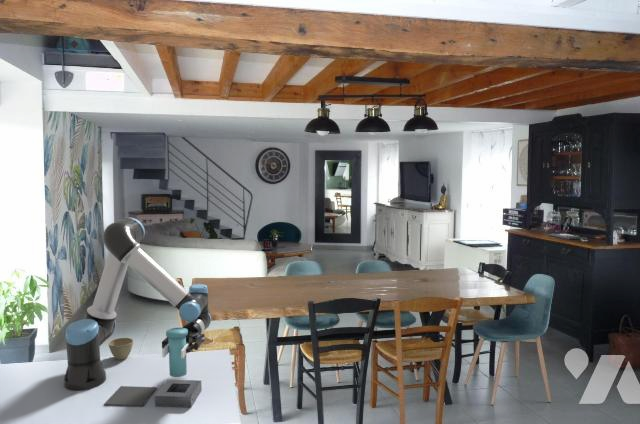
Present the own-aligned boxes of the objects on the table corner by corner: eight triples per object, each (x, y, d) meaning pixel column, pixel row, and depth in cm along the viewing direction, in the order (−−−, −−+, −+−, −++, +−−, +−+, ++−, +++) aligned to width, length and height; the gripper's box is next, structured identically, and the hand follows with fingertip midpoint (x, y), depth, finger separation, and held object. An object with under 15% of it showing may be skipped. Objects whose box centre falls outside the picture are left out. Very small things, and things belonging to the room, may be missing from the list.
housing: (155, 406, 195) (154, 395, 194) (167, 389, 208) (167, 379, 207) (191, 407, 194) (190, 396, 193) (201, 390, 207) (201, 380, 206)
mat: (104, 405, 196) (103, 403, 195) (120, 387, 209) (120, 386, 209) (142, 406, 195) (142, 405, 194) (156, 388, 208) (156, 387, 208)
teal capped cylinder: (164, 377, 196) (162, 334, 194) (171, 368, 203) (170, 327, 201) (185, 378, 195) (184, 335, 193) (191, 369, 203) (190, 327, 201)
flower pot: (125, 363, 232) (125, 346, 231) (104, 361, 234) (103, 345, 233) (138, 353, 242) (137, 338, 241) (117, 352, 244) (116, 336, 243)
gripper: (216, 340, 216) (199, 365, 193) (169, 339, 217) (146, 363, 194) (216, 322, 215) (198, 344, 192) (168, 320, 216) (145, 342, 193)
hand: (172, 354), depth 193 cm, fingers closed on teal capped cylinder, 6 cm apart
